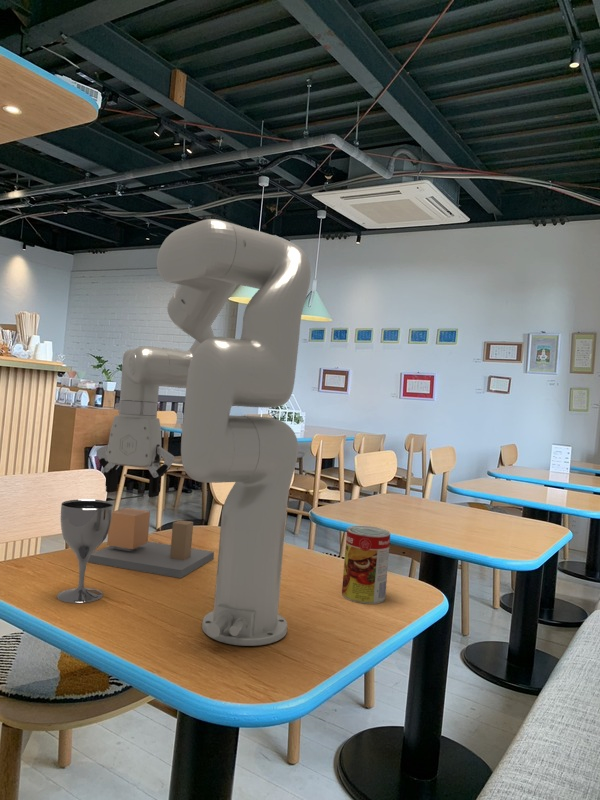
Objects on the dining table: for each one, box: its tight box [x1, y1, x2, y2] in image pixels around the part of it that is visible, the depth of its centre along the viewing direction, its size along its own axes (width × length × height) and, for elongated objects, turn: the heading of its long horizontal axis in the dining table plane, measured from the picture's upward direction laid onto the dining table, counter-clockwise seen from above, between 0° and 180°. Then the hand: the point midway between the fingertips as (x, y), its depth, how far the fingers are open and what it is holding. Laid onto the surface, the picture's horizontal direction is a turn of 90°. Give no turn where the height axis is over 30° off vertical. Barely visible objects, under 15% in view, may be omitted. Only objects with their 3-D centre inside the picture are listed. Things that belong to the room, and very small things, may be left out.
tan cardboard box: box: [106, 507, 151, 549], centre depth 120 cm, size 6×6×7 cm
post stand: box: [87, 519, 215, 579], centre depth 118 cm, size 15×20×8 cm
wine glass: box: [56, 498, 114, 604], centre depth 96 cm, size 8×8×15 cm
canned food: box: [341, 525, 391, 605], centre depth 107 cm, size 8×8×12 cm
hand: (132, 493), depth 120 cm, fingers open, 9 cm apart
